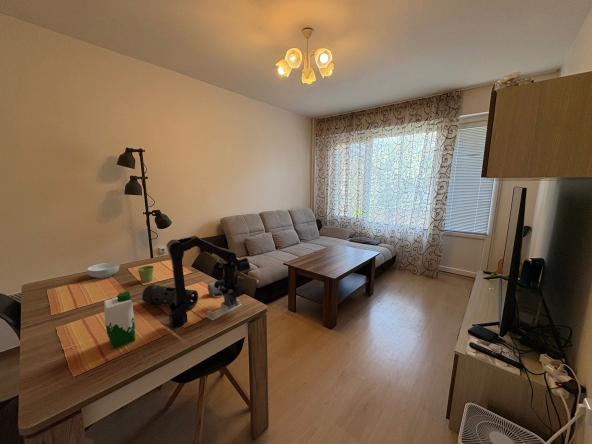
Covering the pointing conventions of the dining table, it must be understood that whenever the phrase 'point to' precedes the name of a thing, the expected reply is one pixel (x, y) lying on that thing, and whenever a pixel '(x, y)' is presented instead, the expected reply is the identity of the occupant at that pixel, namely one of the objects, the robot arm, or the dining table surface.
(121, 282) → the dining table surface
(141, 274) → the plant pot
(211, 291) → the ceramic mug
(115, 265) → the cereal bowl
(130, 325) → the milk carton
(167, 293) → the muzzle brake
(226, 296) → the dark grey knobbed block
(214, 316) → the white ridged plate
